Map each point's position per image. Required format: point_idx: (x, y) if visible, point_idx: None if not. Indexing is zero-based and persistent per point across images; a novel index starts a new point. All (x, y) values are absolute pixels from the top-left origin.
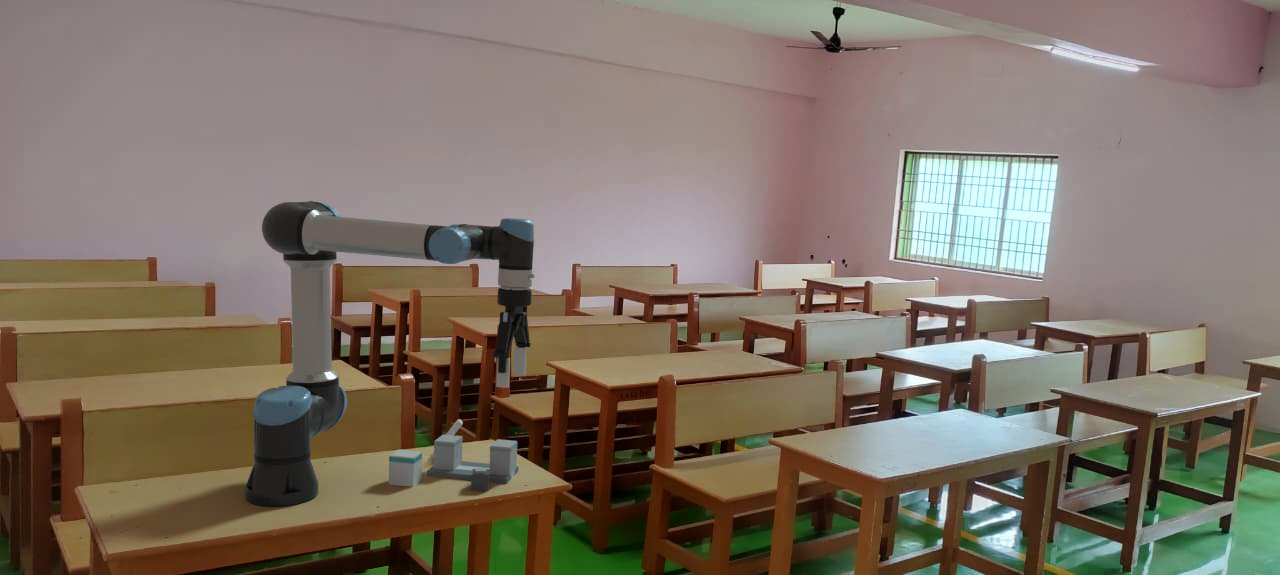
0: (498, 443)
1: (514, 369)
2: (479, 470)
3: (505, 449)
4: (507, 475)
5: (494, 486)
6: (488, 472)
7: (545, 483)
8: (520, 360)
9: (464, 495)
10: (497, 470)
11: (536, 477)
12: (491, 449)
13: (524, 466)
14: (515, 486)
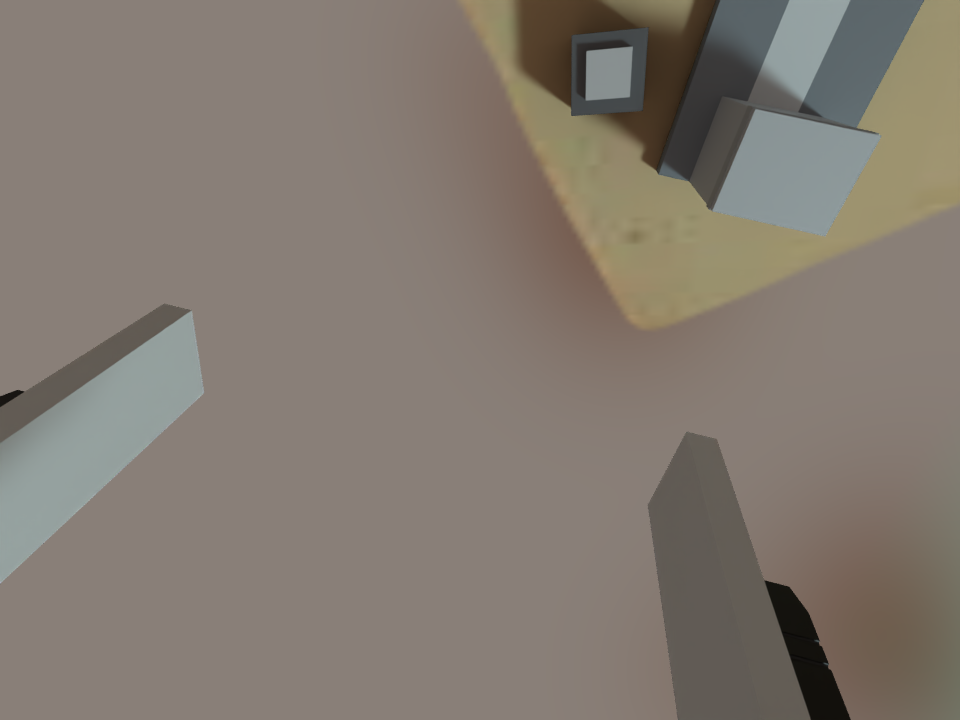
0: (795, 148)
1: (691, 476)
2: (591, 70)
3: (719, 185)
4: (692, 173)
5: (623, 126)
6: (598, 110)
7: (649, 296)
8: (685, 599)
9: (518, 16)
10: (711, 134)
11: (717, 269)
12: (747, 114)
13: (866, 224)
14: (621, 202)
